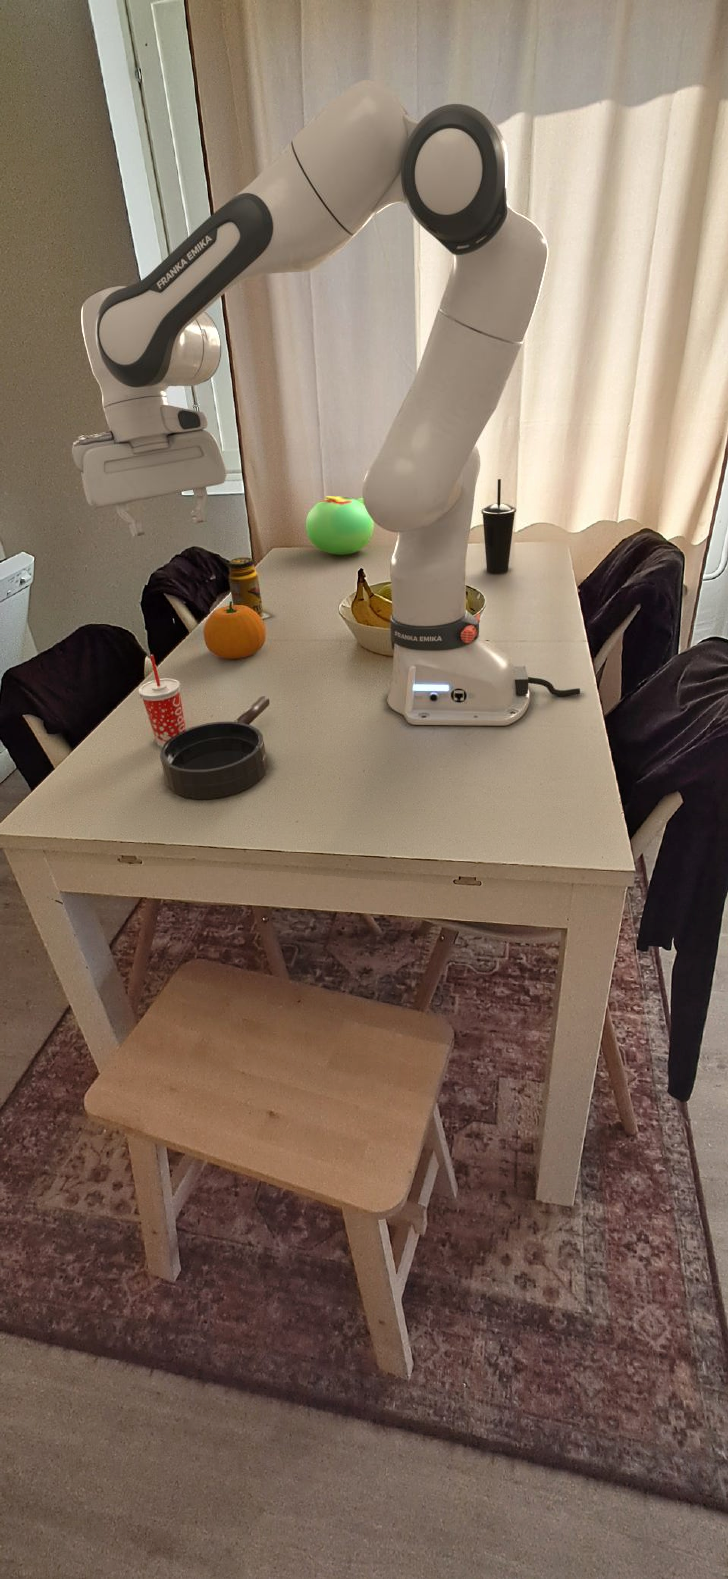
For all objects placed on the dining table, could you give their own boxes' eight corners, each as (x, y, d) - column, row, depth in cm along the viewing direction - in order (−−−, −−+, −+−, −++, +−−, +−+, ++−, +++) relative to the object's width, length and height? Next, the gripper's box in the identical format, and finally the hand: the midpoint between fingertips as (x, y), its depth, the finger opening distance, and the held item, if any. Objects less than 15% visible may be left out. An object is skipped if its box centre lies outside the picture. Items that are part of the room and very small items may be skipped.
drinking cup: (516, 574, 174) (519, 481, 163) (482, 576, 174) (483, 484, 164) (511, 564, 180) (514, 474, 170) (479, 566, 181) (479, 477, 170)
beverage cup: (171, 753, 114) (150, 666, 107) (143, 744, 117) (121, 659, 110) (200, 735, 118) (181, 650, 111) (172, 727, 121) (152, 644, 114)
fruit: (233, 637, 153) (225, 588, 148) (280, 645, 148) (273, 594, 142) (194, 659, 145) (184, 608, 140) (242, 668, 140) (233, 615, 134)
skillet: (284, 754, 111) (280, 726, 109) (237, 806, 100) (232, 777, 98) (200, 743, 116) (194, 717, 114) (147, 792, 105) (139, 764, 103)
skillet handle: (242, 735, 112) (240, 724, 111) (231, 734, 112) (229, 723, 111) (272, 705, 119) (270, 694, 118) (262, 704, 120) (260, 693, 119)
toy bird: (296, 556, 200) (289, 498, 192) (339, 540, 211) (334, 484, 203) (348, 565, 190) (342, 504, 182) (390, 548, 200) (387, 489, 192)
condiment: (270, 616, 162) (262, 560, 156) (234, 626, 159) (224, 569, 152) (255, 608, 168) (247, 553, 161) (220, 618, 164) (210, 562, 158)
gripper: (70, 434, 100) (103, 543, 105) (216, 412, 108) (240, 514, 113) (63, 441, 105) (95, 544, 110) (202, 419, 113) (226, 516, 118)
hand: (170, 529), depth 112 cm, fingers open, 8 cm apart
